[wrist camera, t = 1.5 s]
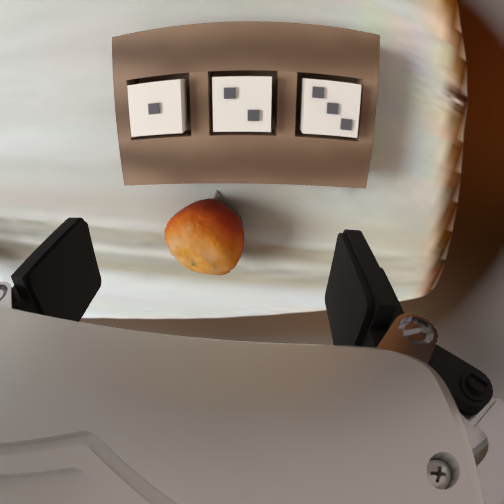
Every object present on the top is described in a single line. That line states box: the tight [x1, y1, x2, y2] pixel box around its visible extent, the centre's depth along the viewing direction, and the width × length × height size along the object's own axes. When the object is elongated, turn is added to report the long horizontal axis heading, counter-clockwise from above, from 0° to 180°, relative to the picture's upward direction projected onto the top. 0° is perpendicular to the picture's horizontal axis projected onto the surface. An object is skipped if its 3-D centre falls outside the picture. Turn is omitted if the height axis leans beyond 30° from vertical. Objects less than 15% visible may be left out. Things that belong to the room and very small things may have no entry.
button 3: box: [300, 78, 361, 138], centre depth 22 cm, size 4×4×2 cm
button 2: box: [212, 76, 272, 132], centre depth 23 cm, size 4×4×2 cm
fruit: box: [165, 191, 244, 275], centre depth 32 cm, size 8×8×8 cm
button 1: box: [127, 79, 188, 137], centre depth 23 cm, size 4×4×2 cm
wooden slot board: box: [112, 22, 380, 188], centre depth 25 cm, size 14×22×5 cm, turn 90°
